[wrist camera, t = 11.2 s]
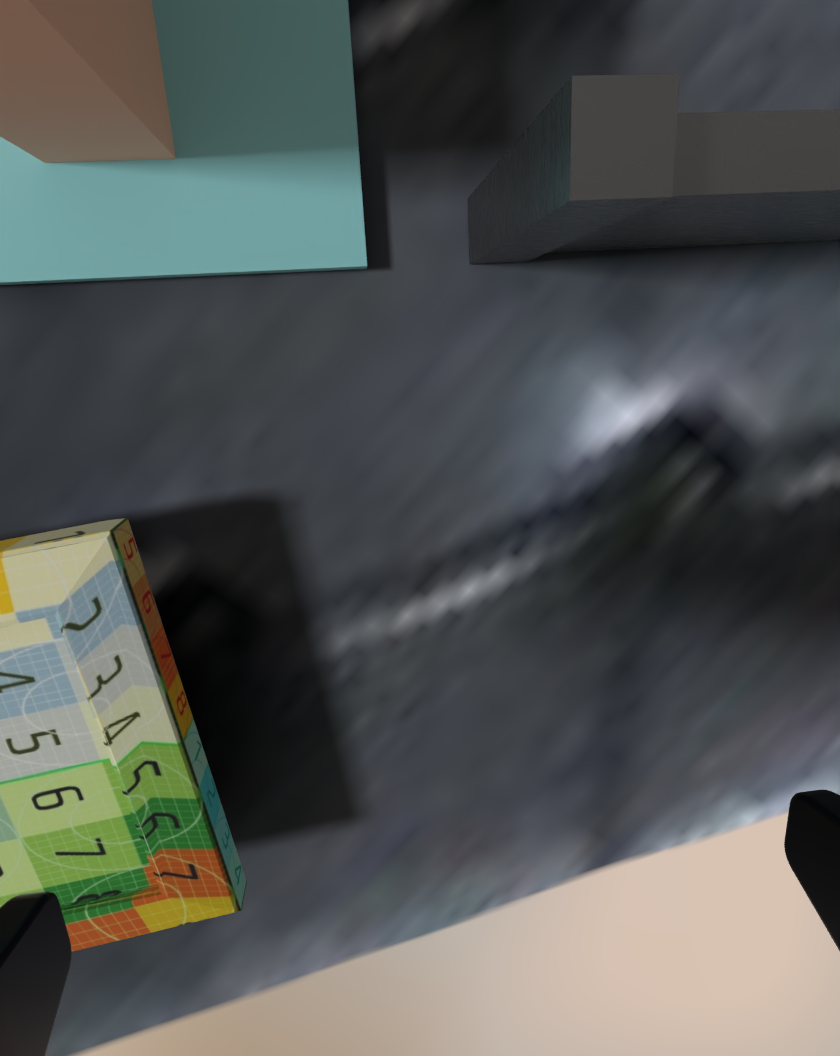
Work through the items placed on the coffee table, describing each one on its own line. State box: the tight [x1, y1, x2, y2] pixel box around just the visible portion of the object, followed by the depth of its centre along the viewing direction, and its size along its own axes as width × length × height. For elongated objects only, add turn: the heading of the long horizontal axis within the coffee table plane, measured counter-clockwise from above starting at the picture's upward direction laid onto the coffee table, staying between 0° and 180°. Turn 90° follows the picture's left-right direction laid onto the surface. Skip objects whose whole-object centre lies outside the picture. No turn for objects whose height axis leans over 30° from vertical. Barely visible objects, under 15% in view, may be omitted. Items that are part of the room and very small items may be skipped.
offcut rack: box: [468, 74, 840, 264], centre depth 13 cm, size 12×2×8 cm, turn 93°
